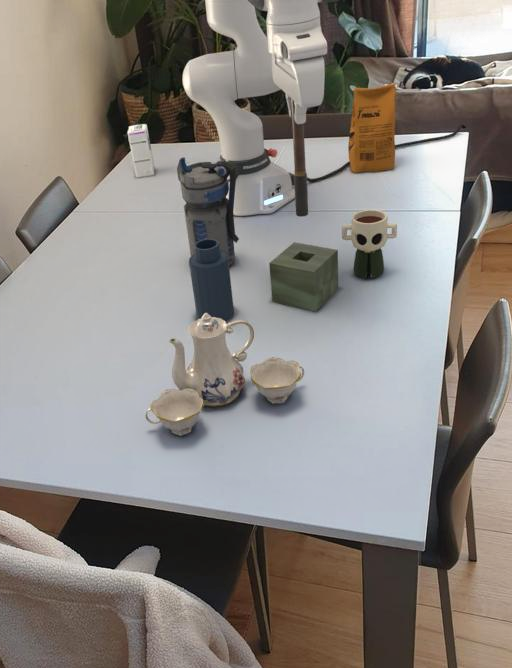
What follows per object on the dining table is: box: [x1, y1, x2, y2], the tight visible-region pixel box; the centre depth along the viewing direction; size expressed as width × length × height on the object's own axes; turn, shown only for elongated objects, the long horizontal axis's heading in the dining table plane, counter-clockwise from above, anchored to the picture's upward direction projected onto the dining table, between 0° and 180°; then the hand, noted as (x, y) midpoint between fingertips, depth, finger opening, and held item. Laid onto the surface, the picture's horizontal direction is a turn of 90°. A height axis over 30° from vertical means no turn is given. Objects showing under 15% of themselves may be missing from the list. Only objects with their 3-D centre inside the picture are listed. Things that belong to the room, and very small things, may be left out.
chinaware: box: [145, 313, 305, 437], centre depth 118 cm, size 28×17×17 cm, turn 114°
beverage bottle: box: [176, 156, 240, 267], centre depth 158 cm, size 10×13×25 cm
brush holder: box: [268, 241, 339, 313], centre depth 146 cm, size 10×10×9 cm
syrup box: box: [126, 123, 156, 178], centre depth 218 cm, size 6×6×14 cm
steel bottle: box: [188, 239, 235, 323], centre depth 143 cm, size 8×8×16 cm
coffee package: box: [347, 83, 397, 174], centre depth 194 cm, size 10×12×22 cm
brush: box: [291, 98, 309, 218], centre depth 132 cm, size 2×2×22 cm
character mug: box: [341, 208, 398, 279], centre depth 148 cm, size 11×7×13 cm, turn 78°
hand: (297, 120), depth 128 cm, fingers closed on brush, 2 cm apart
